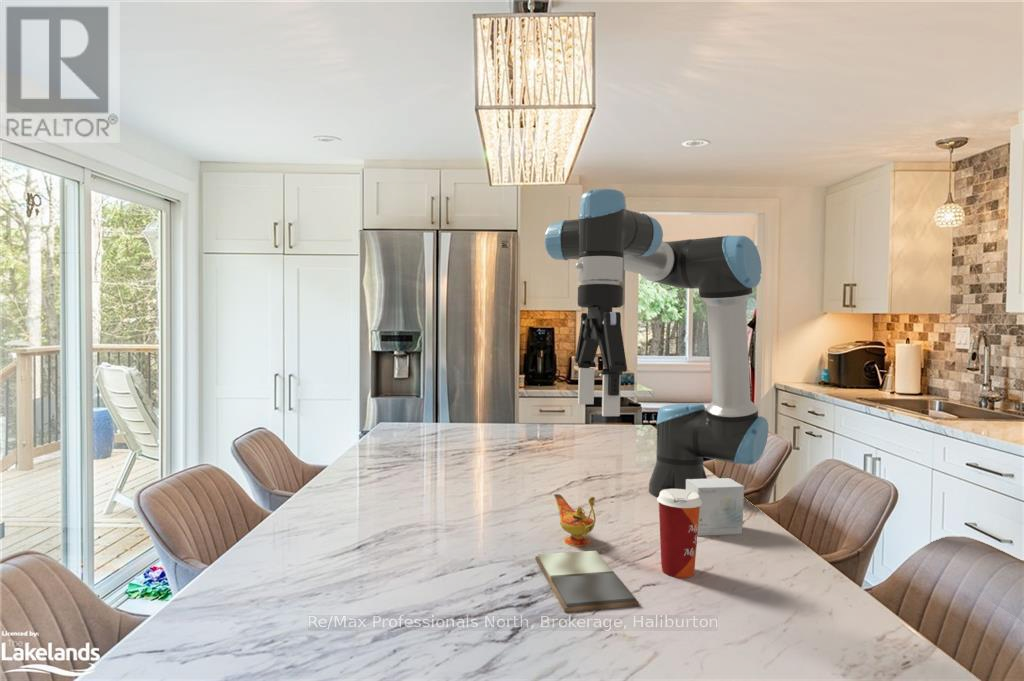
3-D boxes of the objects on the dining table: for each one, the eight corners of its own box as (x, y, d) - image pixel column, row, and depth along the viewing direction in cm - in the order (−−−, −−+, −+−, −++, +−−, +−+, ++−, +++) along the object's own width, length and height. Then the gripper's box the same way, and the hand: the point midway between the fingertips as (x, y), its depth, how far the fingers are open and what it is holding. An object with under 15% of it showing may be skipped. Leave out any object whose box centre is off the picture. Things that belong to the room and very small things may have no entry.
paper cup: (702, 582, 102) (704, 501, 101) (656, 578, 103) (658, 498, 102) (697, 564, 109) (699, 488, 109) (654, 560, 111) (656, 486, 110)
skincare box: (697, 537, 123) (698, 486, 123) (683, 526, 129) (684, 478, 129) (743, 534, 125) (745, 485, 124) (728, 524, 131) (729, 477, 131)
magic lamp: (569, 522, 131) (570, 472, 130) (610, 553, 114) (611, 496, 114) (540, 525, 128) (541, 475, 128) (578, 557, 112) (579, 499, 111)
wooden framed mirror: (597, 555, 113) (597, 549, 113) (638, 605, 93) (638, 598, 93) (535, 559, 111) (535, 553, 110) (564, 612, 91) (564, 605, 91)
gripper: (560, 287, 112) (557, 399, 112) (602, 278, 87) (599, 422, 88) (598, 288, 113) (596, 399, 113) (651, 279, 88) (647, 421, 89)
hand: (597, 409), depth 101 cm, fingers open, 13 cm apart
